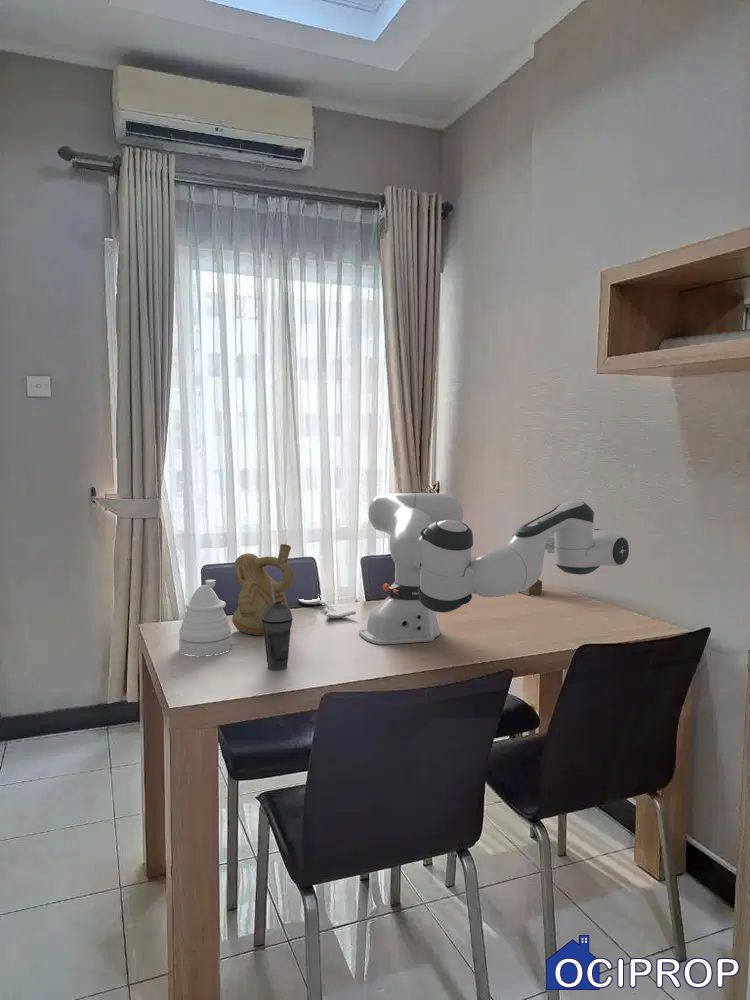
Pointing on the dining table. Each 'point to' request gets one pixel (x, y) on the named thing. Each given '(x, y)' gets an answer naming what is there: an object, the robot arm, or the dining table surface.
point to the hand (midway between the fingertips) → (547, 536)
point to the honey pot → (205, 624)
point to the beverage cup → (277, 633)
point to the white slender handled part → (331, 611)
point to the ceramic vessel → (259, 588)
